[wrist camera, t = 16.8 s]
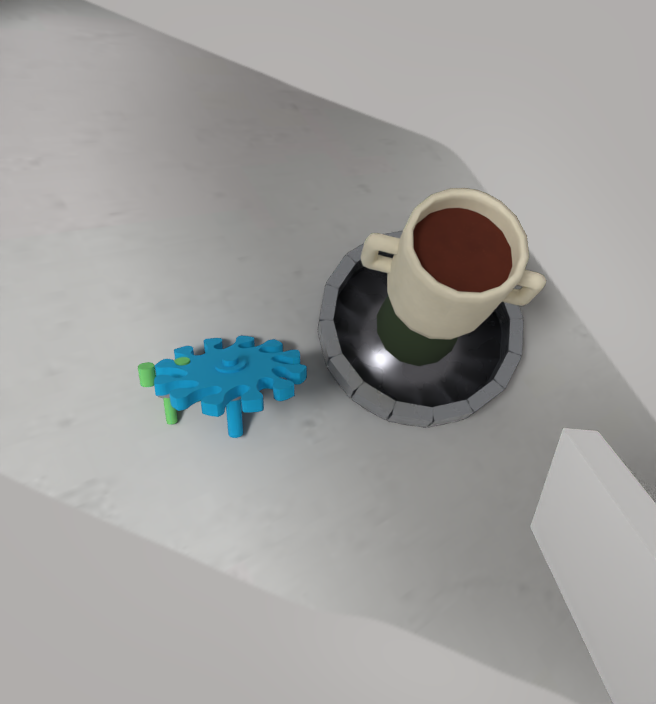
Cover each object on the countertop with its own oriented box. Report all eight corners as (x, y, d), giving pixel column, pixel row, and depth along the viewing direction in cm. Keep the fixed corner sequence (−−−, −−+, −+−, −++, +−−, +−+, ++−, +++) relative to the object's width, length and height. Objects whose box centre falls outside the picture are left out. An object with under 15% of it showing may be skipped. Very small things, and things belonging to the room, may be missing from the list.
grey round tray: (280, 306, 43) (280, 294, 41) (429, 214, 47) (435, 199, 45) (401, 467, 40) (407, 462, 38) (550, 354, 44) (563, 344, 42)
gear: (313, 330, 41) (294, 398, 32) (314, 401, 44) (297, 482, 35) (166, 325, 42) (107, 390, 33) (174, 395, 45) (122, 472, 36)
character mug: (490, 305, 44) (569, 211, 32) (477, 390, 42) (558, 323, 30) (355, 272, 45) (384, 165, 32) (335, 354, 42) (357, 273, 30)
